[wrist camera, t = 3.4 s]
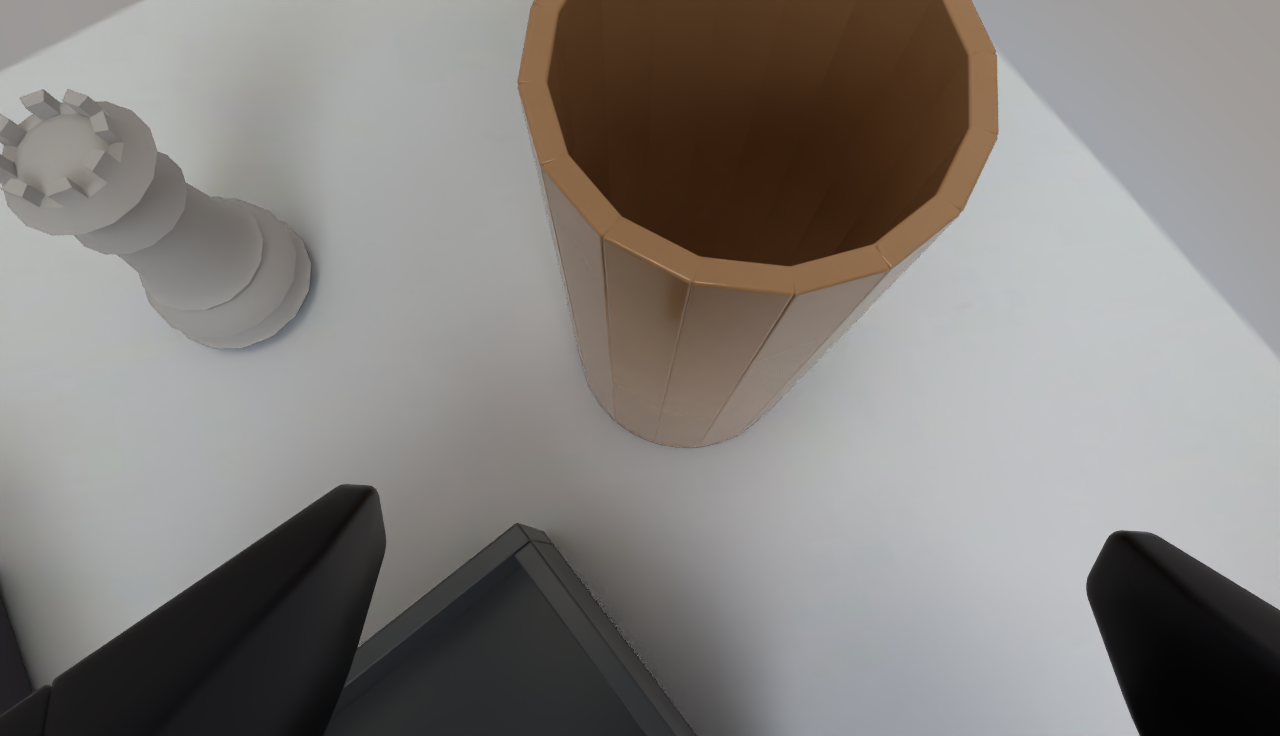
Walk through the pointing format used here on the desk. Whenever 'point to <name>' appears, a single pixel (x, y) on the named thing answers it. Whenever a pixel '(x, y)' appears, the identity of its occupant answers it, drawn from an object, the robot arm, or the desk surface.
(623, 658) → the bin
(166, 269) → the rook chess piece
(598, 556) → the desk surface
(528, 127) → the wooden cup
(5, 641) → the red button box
